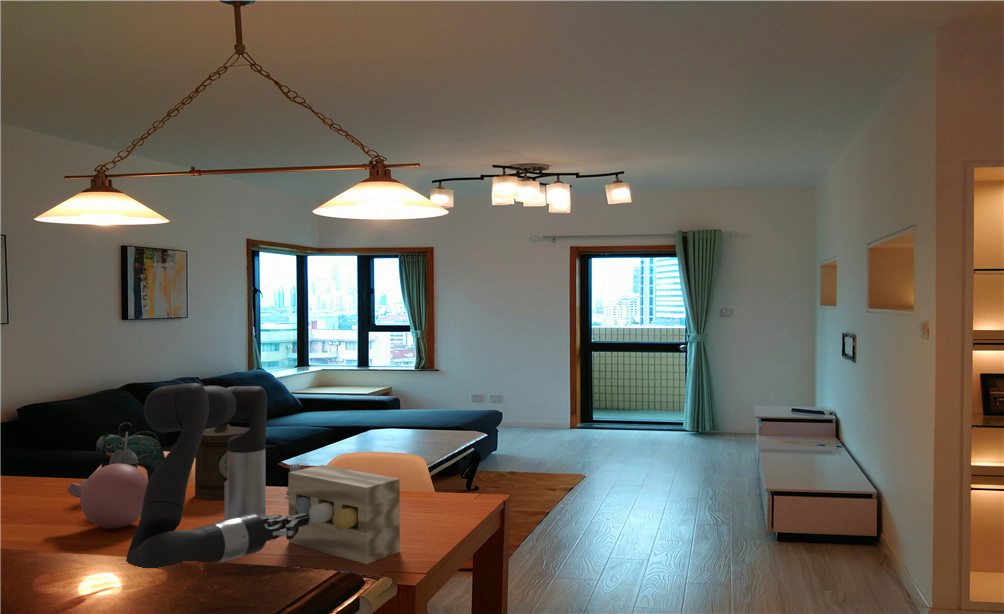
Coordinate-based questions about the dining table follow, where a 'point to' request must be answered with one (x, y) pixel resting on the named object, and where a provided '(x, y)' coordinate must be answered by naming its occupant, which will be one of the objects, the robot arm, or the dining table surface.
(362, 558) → the block
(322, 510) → the white button
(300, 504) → the slate button
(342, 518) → the ochre button
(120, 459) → the beverage cup
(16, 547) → the dining table surface
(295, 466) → the rook chess piece
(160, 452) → the ceramic cat
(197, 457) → the wooden container
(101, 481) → the balloon
